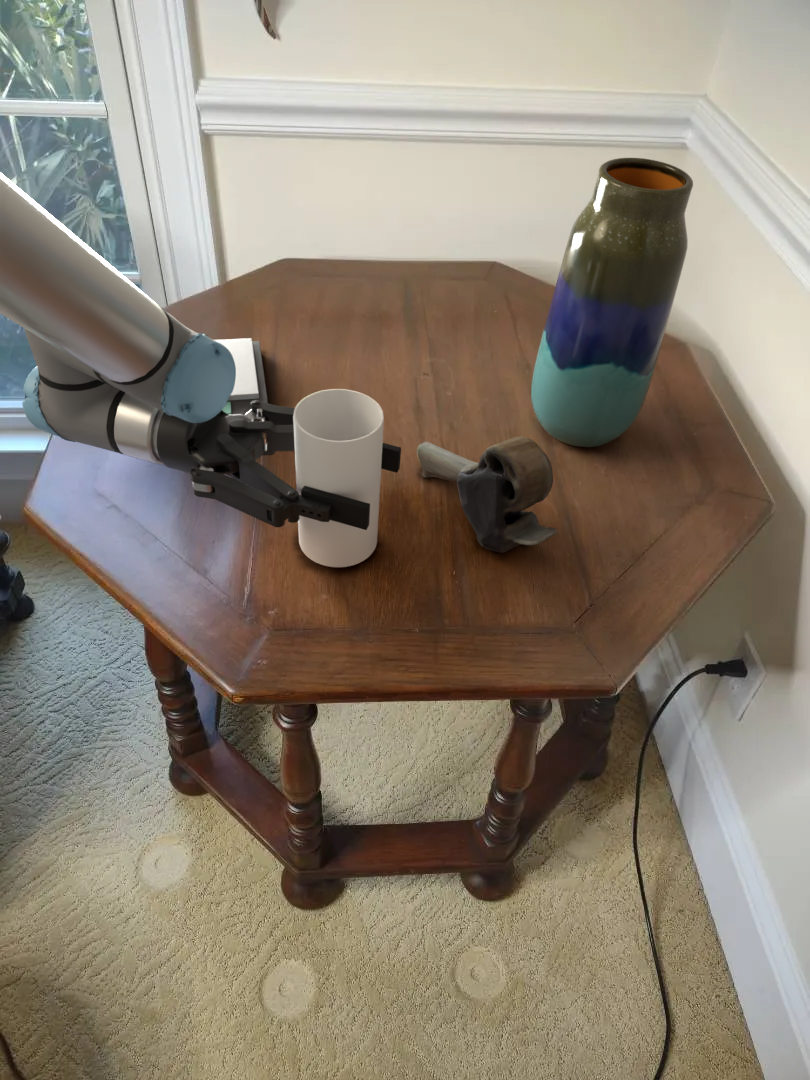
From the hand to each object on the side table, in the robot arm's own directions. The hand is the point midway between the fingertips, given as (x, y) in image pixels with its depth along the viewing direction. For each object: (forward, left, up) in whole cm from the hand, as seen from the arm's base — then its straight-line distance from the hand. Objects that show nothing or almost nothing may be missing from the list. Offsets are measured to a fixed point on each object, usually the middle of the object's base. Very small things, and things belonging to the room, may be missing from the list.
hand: (384, 487), depth 74 cm
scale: (-17, +31, -9) cm, 37 cm away
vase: (+29, +18, -9) cm, 36 cm away
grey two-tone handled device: (+12, +4, -10) cm, 16 cm away
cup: (-4, +2, -9) cm, 10 cm away
